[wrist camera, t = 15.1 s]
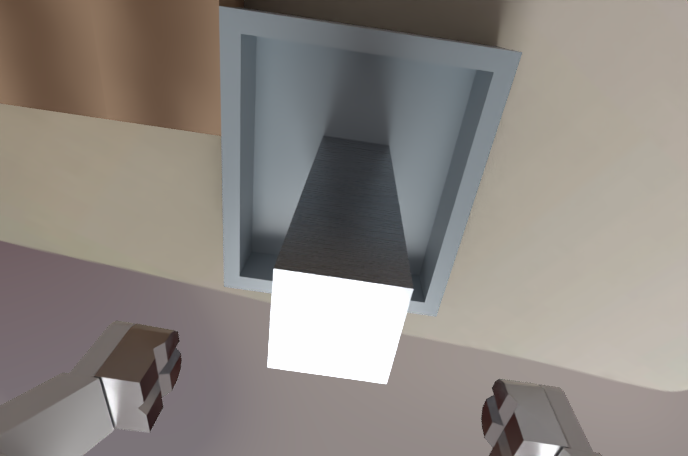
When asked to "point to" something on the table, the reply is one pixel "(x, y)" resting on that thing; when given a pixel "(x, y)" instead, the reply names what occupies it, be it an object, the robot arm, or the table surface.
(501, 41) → the table surface
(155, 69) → the block
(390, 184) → the pin
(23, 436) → the robot arm
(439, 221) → the tray
